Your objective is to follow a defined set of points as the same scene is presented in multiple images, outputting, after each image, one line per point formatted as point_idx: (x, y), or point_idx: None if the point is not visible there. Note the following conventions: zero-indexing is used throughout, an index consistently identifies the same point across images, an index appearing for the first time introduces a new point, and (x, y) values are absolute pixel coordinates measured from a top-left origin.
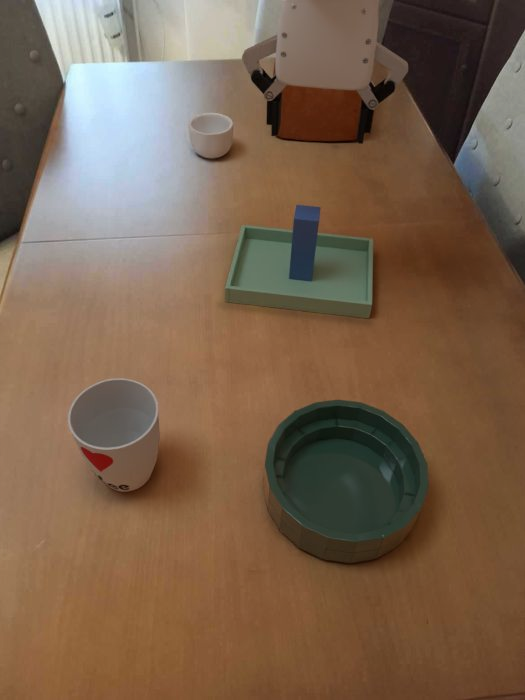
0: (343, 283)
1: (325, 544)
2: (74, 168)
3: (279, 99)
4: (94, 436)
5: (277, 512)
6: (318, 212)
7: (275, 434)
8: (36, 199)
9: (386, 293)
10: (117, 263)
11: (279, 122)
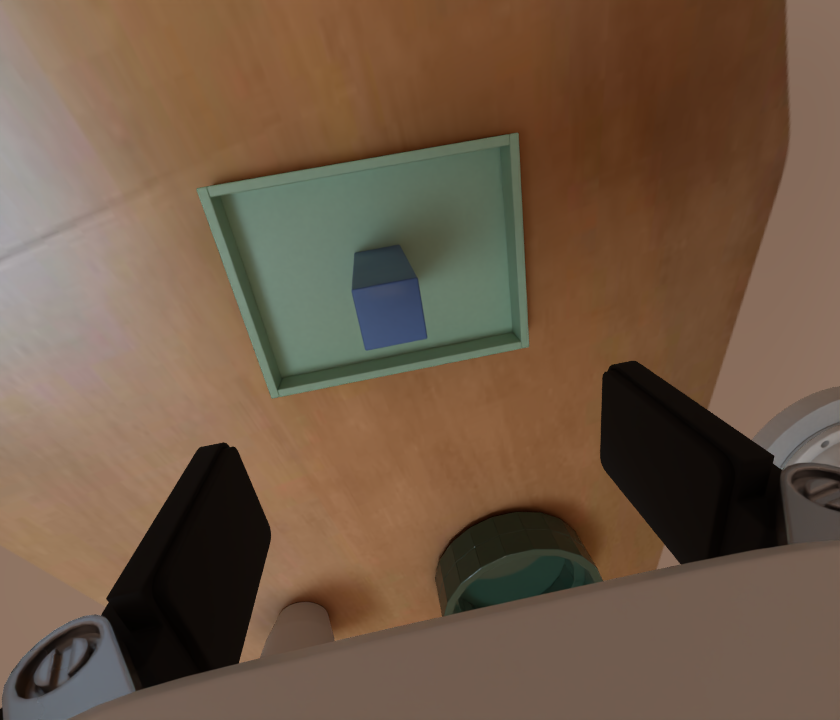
0: (466, 272)
1: None
2: None
3: (205, 662)
4: None
5: None
6: (418, 304)
7: (447, 610)
8: None
9: (543, 261)
10: (20, 362)
11: (244, 516)
